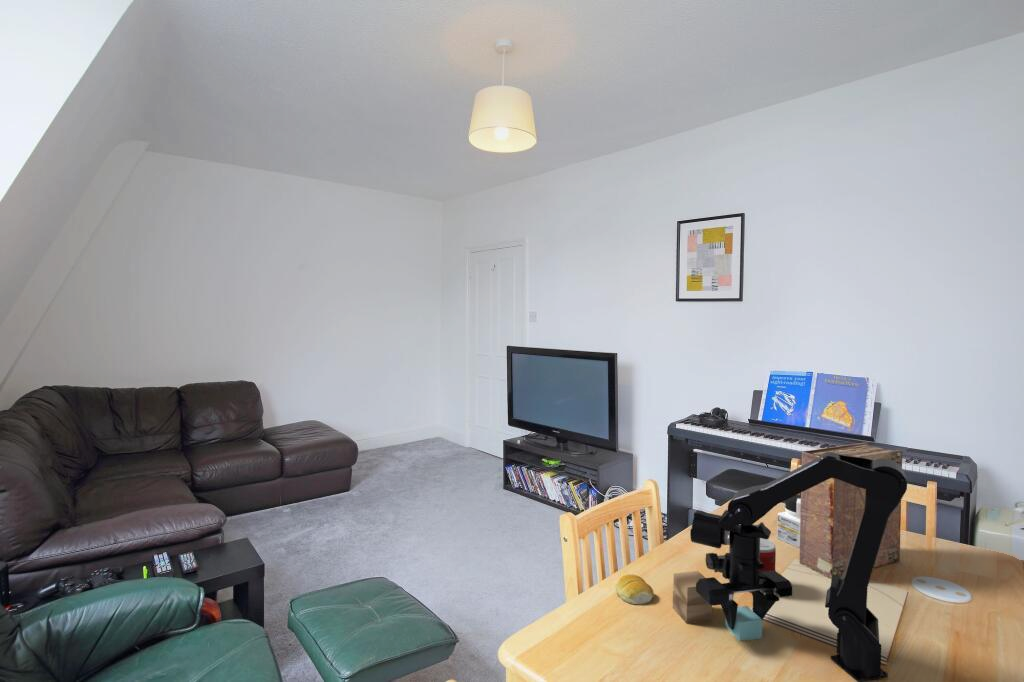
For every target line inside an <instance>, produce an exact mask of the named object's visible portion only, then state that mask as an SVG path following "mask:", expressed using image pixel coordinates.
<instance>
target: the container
mask: <svg viewBox="0 0 1024 682" xmlns="http://www.w3.org/2000/svg"><path fill="white" fill-rule="evenodd" d="M784 502H785V503H784V504H785V505H784V507H785V509H784V510H785V511H780V512H777V518H776V519H777V521H776V522H777V523H776V524H777V526H776V527H777V528H776V531H777V532H776V538H777V539H778V540H780V541H783V542H785V543H786V544H789V545H792V546H794V547H796V548H798V549H800V513H801V494H797V495H795V496H793V497H791V498H789V499H787V500H785V501H784Z"/></svg>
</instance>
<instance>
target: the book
mask: <svg viewBox="0 0 1024 682" xmlns="http://www.w3.org/2000/svg"><path fill="white" fill-rule="evenodd" d="M826 452H833V453H837V454H841V455H847V456H855V457H863V458H867V459H871V460H876V459H881V458H885V459H890V460H893V461H895V462H896V463H898V464H899V465H900V466H901V467H902V468H903V450H901V449H896V450H891V449H887V448H882V447H878V446H873V445H870V443H869V442H868V441H867V442H860V443H852V444H845V445H839V446H830V447H824V448H817V449H811V450H803V451H801V466H803V465H805V464H807V463H809V462H811V461H813V460H814V459H816V458H818V457H820V456H821V455H822V454H823V453H826ZM801 466H800V467H801ZM800 495H801V513H800V548H799V563H800V564H801V563H802V565H803V564H804V566H805V565H806V566H805V567H807V568H809V567H810V568H809V569H811V568H812V570H813V569H814V570H813V571H815V570H816V571H815V572H817V571H818V572H817V573H819V572H820V573H819V574H821V573H822V574H821V575H823V574H824V575H823V576H825V575H826V576H825V577H827V576H828V577H827V578H828V579H831V578H832V574H834V575H835V576H837V577H841V576H842V574H843V573H844V572H845V570H846V566H847V563H848V559H849V556H850V553H851V549H852V546H853V542H854V539H855V535H856V532H857V529H858V525H859V522H860V518H861V515H862V511H863V508H864V504H865V489H863V488H859V487H857V486H854V485H851V484H849V483H846V482H844V481H841V480H839V479H835V478H830V479H828V480H826V481H824V482H822V483H820V484H818V485H816V486H814V487H811V488H809V489H807V490H805V491H803V492H801V493H800ZM901 513H902V500H901V501H900V503H899V504H898V506H897V507H896V508H895V510H894V511H893V512H892V514H891V515H890V516H889V518H888V521H887V524H886V527H885V531H884V534H883V537H882V541H881V544H880V547H879V551H878V554H877V557H876V561H875V564H874V567H873V570H874V569H877V568H881V567H885V566H889V565H893V564H897V563H900V558H901V557H900V555H901V550H900V549H901V524H902V523H901V521H902V519H901V518H902V517H901V516H902V515H901Z"/></svg>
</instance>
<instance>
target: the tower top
mask: <svg viewBox="0 0 1024 682" xmlns="http://www.w3.org/2000/svg"><path fill="white" fill-rule="evenodd" d="M702 578H706V577H705V575H703V574H702V572H700V571H699V570H695V571H694V570H693V571H687V572H686V571H685V572H676V573H675V572H674V573H673V586H672V587H673V591H674V592H675V593H676V594H677V595H678V596H679V597H680V598H681V600H682V601H683V602H684V603H685V604H686V605H687V606H690V605H698V604H706V603H708V602H707V601H706V600H705V599H704V598H703V597H702V596H701V595H700V594H699V593H697V592H696V582H697V580H699V579H702ZM673 591H672V592H673Z"/></svg>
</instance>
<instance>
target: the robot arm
mask: <svg viewBox="0 0 1024 682" xmlns="http://www.w3.org/2000/svg"><path fill="white" fill-rule="evenodd" d="M830 478H835V479H839V480H841V481H844V482H846V483H849V484H851V485H854V486H857V487H859V488H863V489H865V504H864V508H863V511H862V515H861V518H860V522H859V525H858V529H857V532H856V535H855V539H854V542H853V546H852V549H851V553H850V556H849V559H848V563H847V566H846V570H845V572H844V573H843V574H842V576H841V577H840V578H839V577H837V576H835V575H834V574H832V578H830V579H831V580H830V586H829V588H827V590H826V595H825V602H824V607H825V608H827V610H828V611H827V612H828V613H827V616H828V619H829V620H830V622H831V623H832V625H834V626H835V628H837V629H838V630H837V631H838V632H837V634H836V654H835V655H834V654H833V655H831V656H830V660H831V661H833V663H835V664H836V665H837V666H838V667H839V668H840V669H842V671H843V670H844V671H845V672H846V673H847V674H848V675H849V676H850V677H852V678H853V679H854V680H855V681H857V682H867V681H872V680H878V679H884V678H888V675H889V674H888V673H887V671H885V670H884V669H882V667H881V666H882V658H881V657H882V644H881V643H880V630H879V618H878V617H876V615H875V614H874V613H873V612H872V611H871V610H870V609H869V608H868V605H867V603H868V586H869V584H870V580H871V578H872V574H873V570H874V569H873V567H874V564H875V561H876V557H877V554H878V551H879V547H880V544H881V541H882V537H883V534H884V531H885V527H886V524H887V521H888V518H889V516H890V515H891V514H892V512H893V511H894V510H895V508H896V507H897V506H898V504H899V503H900V501H901V502H902V499H903V498H904V496H905V494H906V492H907V489H908V480H907V477H906V474H905V470H904V469H903V466H902V467H901V466H900V465H899V464H898V463H896V462H895V461H893V460H890V459H885V458H881V459H876V460H871V459H867V458H863V457H855V456H847V455H841V454H837V453H833V452H826V453H823V454H822V455H821V456H820V457H818V458H816V459H814V460H813V461H811V462H809V463H807V464H805V465H803V466H799V467H797V468H795V469H793V470H792V471H789V472H787V473H785V474H784V475H781V476H780V477H778V478H776V479H773V480H771V481H770V482H767V483H764V484H759V485H753V486H750V487H746V488H743V489H740V490H738V491H736V492H735V494H734V495H733V497H732V498H731V499H730V501H729V503H728V504H727V509H725V510H724V512H723V513H722V515H718V514H714V513H709V512H705V511H703V510H699V509H697V510H695V512H693V519H692V524H691V528H690V533H689V534H690V542H692V543H694V544H699V545H703V546H707V547H711V548H715V549H721V548H722V546H723V545H725V546H726V545H727V543H728V541H729V547H728V548H729V550H728V552H726V553H725V554H722V555H718V554H717V553H715V552H709V553H706V554H705V566H706V568H707V569H708V570H711V571H712V570H713V572H714V573H720V574H721V573H722V575H721V576H722V578H724V579H725V580H728V582H724V583H723V582H720V581H719V580H718V579H717V578H716V577H715V576H713V577H705V578H702V579H699V580H697V582H696V592H697V593H699V594H700V595H701V596H702V597H703V598H704V599H705V600H706V601H707V602H708V603H709V604H710V605H712V607H713V606H721V609H722V612H723V614H724V618H726V621H727V624H728V626H729V628H730V629H731V630H733V629H734V626H735V621H736V615H737V608H738V607H739V603H737V602H736V600H734V594H741V593H750V591H751V592H752V593H751V595H752V611H753V612H754V613H755V614H757V615H758V616H759V617H760V618H761V619H762V621H763V620H764V619H765V616H766V615H767V614H768V612H769V611H770V610H771V609H772V607H773V606H774V605H775V604H776V602H779V601H780V598H787V597H793V584H792V582H791V581H790V580H789V579H787V578H786V577H785V576H783V575H782V574H781V573H779V572H777V570H776V569H775V570H773V571H764V572H760V569H764V563H762V562H761V561H760V538H762V539H767V540H769V538H770V537H771V533H772V531H771V530H770V529H769V528H768V527H767V526H766V525H765V524H764V522H760V523H758V524H755V523H757V522H758V521H759V520H760V519H762V518H763V517H765V515H767V514H768V513H769V512H770V511H771V510H772V509H773V508H774V507H776V506H777V505H778V504H780V503H783V502H785V500H787V499H789V498H791V497H793V496H795V495H800V494H801V492H803V491H805V490H807V489H809V488H811V487H814V486H816V485H818V484H820V483H822V482H824V481H826V480H828V479H830ZM728 538H729V539H728ZM774 588H775V589H774ZM776 594H777V595H776Z"/></svg>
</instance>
